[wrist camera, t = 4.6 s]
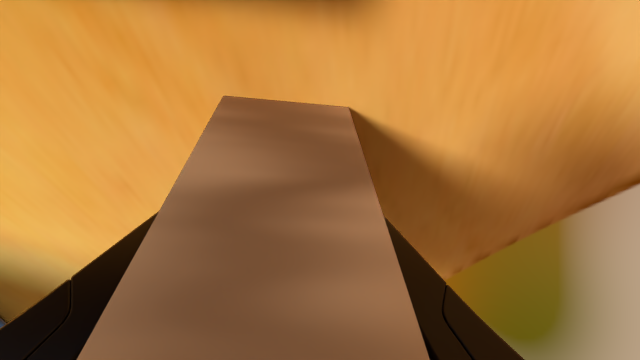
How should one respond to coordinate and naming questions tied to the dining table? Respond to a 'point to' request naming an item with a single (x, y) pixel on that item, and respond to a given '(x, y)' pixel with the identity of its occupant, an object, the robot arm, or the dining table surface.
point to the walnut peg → (265, 251)
